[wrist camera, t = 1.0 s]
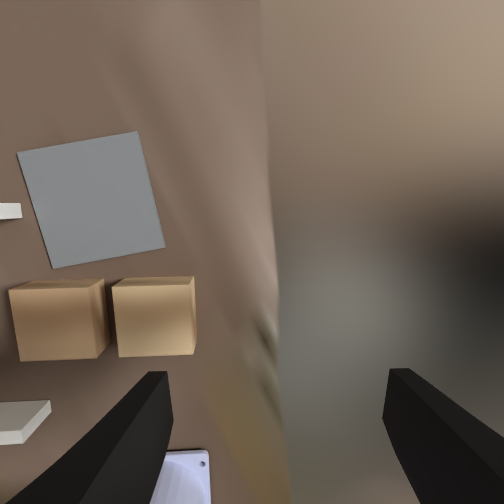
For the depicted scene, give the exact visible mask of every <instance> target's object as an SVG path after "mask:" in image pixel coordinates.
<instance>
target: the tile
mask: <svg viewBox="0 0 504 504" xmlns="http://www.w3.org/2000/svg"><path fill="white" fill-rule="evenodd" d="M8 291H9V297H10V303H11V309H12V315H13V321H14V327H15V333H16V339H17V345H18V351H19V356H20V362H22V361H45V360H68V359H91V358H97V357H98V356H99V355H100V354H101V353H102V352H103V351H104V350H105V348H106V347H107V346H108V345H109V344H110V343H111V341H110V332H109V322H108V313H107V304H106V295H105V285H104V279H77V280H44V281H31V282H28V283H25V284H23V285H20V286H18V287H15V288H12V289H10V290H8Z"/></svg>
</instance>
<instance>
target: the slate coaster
mask: <svg viewBox="0 0 504 504" xmlns="http://www.w3.org/2000/svg"><path fill="white" fill-rule="evenodd" d="M17 155H18V159H19V162H20V165H21V168H22V171H23V175H24V178H25V181H26V184H27V187H28V190H29V194H30V197H31V200H32V203H33V206H34V210H35V213H36V216H37V219H38V222H39V226H40V229H41V232H42V235H43V238H44V242H45V245H46V248H47V251H48V254H49V257H50V261H51V264H52V267H53V269H55V268H60V267H65V266H71V265H76V264H81V263H87V262H92V261H97V260H102V259H108V258H113V257H118V256H123V255H129V254H134V253H139V252H144V251H150V250H155V249H160V248H165V247H166V246H165V241H164V237H163V233H162V229H161V225H160V221H159V217H158V212H157V208H156V204H155V200H154V196H153V192H152V187H151V183H150V179H149V175H148V171H147V167H146V162H145V158H144V154H143V150H142V146H141V142H140V138H139V133H138V131H135V132H130V133H124V134H118V135H113V136H107V137H101V138H96V139H90V140H84V141H79V142H73V143H68V144H62V145H56V146H51V147H45V148H39V149H34V150H28V151H22V152H17Z"/></svg>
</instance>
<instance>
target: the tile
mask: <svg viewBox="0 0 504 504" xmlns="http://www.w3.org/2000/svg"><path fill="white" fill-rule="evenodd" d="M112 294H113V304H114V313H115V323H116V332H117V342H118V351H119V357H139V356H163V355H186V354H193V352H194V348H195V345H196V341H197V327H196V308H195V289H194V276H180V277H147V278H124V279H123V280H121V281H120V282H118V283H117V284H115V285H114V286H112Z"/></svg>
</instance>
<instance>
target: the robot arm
mask: <svg viewBox="0 0 504 504" xmlns="http://www.w3.org/2000/svg"><path fill="white" fill-rule="evenodd" d="M382 419H383V422H384V424H385V427H386V430H387V433H388V436H389V438H390V441H391V443H392V446H393V448H394V451H395V454H396V456H397V458H398V460H399V462H400V464H401V466H402V468H403V470H404V472H405V474H406V476H407V478H408V480H409V482H410V484H411V486H412V488H413V490H414V492H415V494H416V496H417V498H418V500H419V502H420V504H504V438H503V437H502V436H500V435H499V434H498V433H496V432H495V431H494V430H492V429H491V428H489V427H488V426H487V425H485V424H484V423H482V422H481V421H479V420H478V419H477V418H475V417H474V416H472V415H471V414H470V413H469V412H467V411H466V410H465V409H463V408H462V407H460V406H459V405H458V404H456V403H455V402H454V401H452V400H451V399H450V398H448V397H447V396H446V395H444V394H443V393H442V392H440V391H439V390H438V389H436V388H435V387H434V386H433V385H431V384H430V383H429V382H427V381H426V380H424V379H423V378H422V377H420V376H419V375H418V374H416V373H415V372H413V371H412V370H411V369H409V368H396V369H390V371H389V377H388V384H387V390H386V397H385V403H384V411H383V417H382ZM173 421H174V420H173V412H172V405H171V397H170V389H169V382H168V374H167V371H150V372H148V373H147V374H146V375H145V376H144V377H143V378H142V379H141V380H140V381H139V382H138V383H137V384H136V385H135V386H134V387H133V388H132V389H131V390H130V391H129V392H128V393H127V394H126V395H125V396H124V397H123V398H122V399H121V400H120V401H119V402H118V403H117V404H116V405H115V406H114V407H113V408H112V409H111V410H110V411H109V412H108V413H107V414H106V415H105V416H104V417H103V418H102V419H101V420H100V421H99V422H98V423H97V424H96V425H95V426H94V427H93V428H92V429H91V430H90V431H89V432H88V433H87V434H86V435H85V436H84V437H82V438H81V439H80V440H79V441H78V442H77V443H76V444H75V445H74V446H73V447H72V448H70V449H69V450H68V451H67V452H66V453H65V454H64V455H63V456H62V457H61V458H60V459H59V460H57V461H56V462H55V463H54V464H53V465H52V466H51V467H49V468H48V469H47V470H46V471H45V472H44V473H42V474H41V475H40V476H39V477H38V478H36V479H35V480H34V481H33V482H32V483H30V484H29V485H28V486H27V487H25V488H24V489H23V490H22V491H20V492H19V493H18V494H17V495H16V496H14V497H13V498H12V499H11V500H9V501H8V502H7V503H6V504H211V494H210V473H209V454H208V452H207V451H205V450H192V451H175V452H167V448H168V444H169V439H170V435H171V430H172V425H173ZM202 461H203V462H204V463H202Z"/></svg>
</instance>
